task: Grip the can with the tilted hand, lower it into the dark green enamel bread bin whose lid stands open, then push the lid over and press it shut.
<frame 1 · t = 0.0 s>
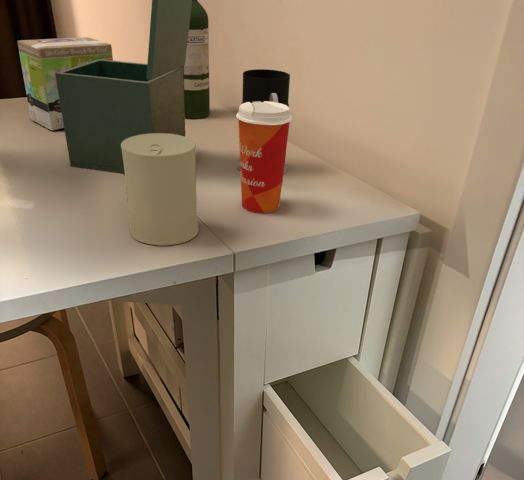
wine bottle: (192, 115, 123), on the table
bin lid: (172, 12, 82), point 23 cm above the table, hinge at 100.0°
paper cup: (260, 207, 83), on the table
bread bin: (130, 159, 97), on the table
tea box: (76, 122, 115), on the table
can: (164, 232, 75), on the table
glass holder: (264, 174, 95), on the table
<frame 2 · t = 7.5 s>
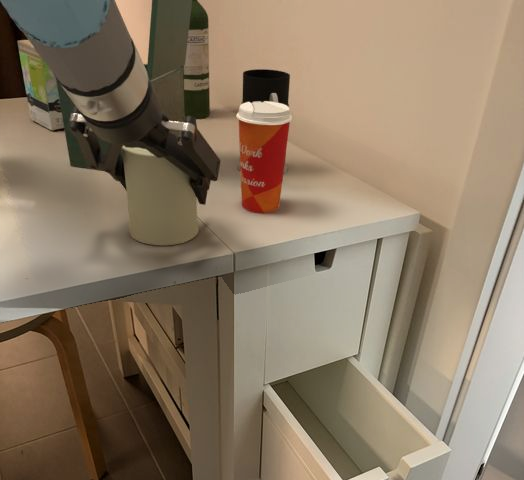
hand: (169, 191, 75), 4 cm above the table, tool tilted 45°, fingers closed on can, 9 cm apart
can: (164, 232, 75), on the table, touching gripper
everything else where it was.
when the fingers open (16 cm above the table, at t = 17.8 s): can drops 11 cm, resting on bread bin.
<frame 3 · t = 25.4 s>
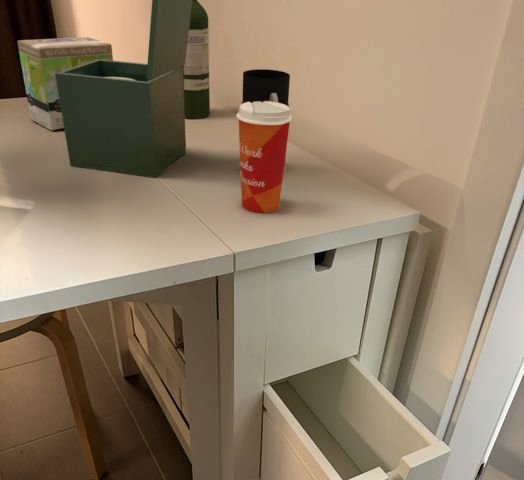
bin lid: (172, 12, 82), point 23 cm above the table, hinge at 100.1°, touching gripper
can: (118, 155, 97), point 1 cm above the table, touching bread bin
everything else where it was.
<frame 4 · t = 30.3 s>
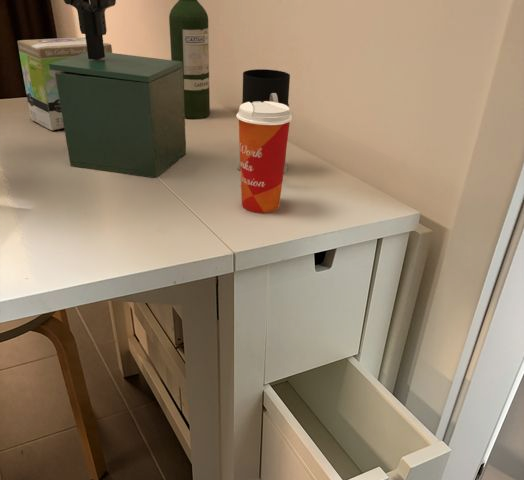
hand: (96, 57, 89), 16 cm above the table, tool pointing down, fingers closed
bin lid: (118, 65, 89), point 15 cm above the table, hinge at 1.2°, touching gripper
everything else where it was.
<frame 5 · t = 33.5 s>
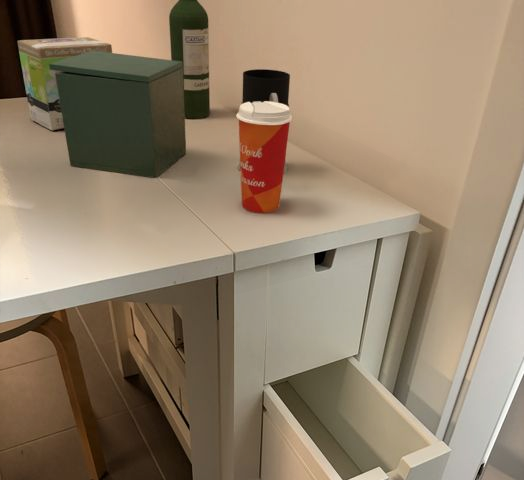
bin lid: (118, 65, 89), point 15 cm above the table, hinge at 1.2°
everything else where it was.
at the end: can inside the target area in the bread bin (2.2 cm from its centre), point 0.6 cm above the bread bin's base; bin lid at +1° (first picture: +100°) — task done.
